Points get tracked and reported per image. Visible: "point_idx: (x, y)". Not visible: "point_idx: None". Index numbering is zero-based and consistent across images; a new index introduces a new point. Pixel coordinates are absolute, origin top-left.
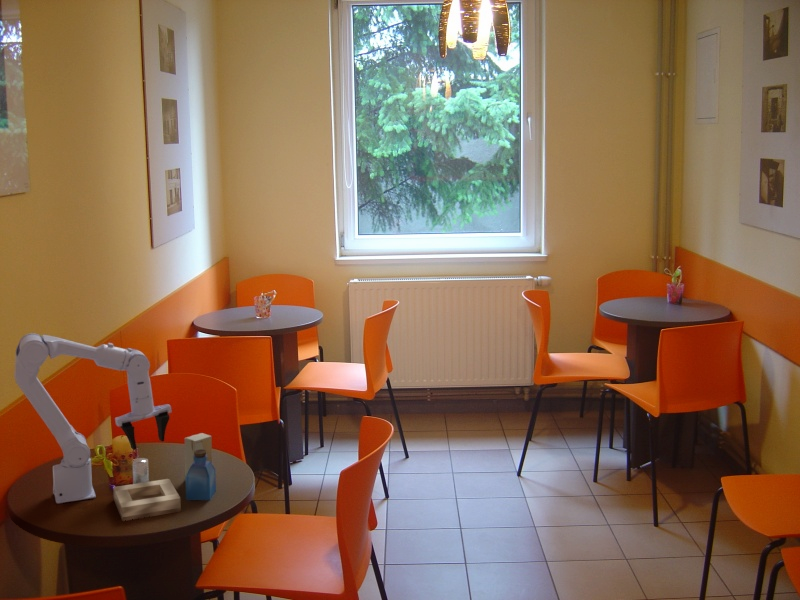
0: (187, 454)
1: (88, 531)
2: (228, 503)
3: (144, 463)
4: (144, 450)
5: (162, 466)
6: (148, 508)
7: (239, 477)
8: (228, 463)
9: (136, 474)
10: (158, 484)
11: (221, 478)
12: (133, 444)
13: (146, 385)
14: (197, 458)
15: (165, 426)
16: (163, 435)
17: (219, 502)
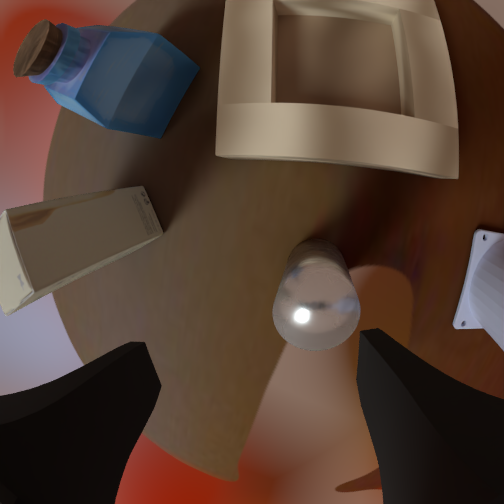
0: (86, 241)
1: (487, 24)
2: None
3: (304, 273)
4: (236, 464)
5: (211, 380)
6: None
7: (53, 193)
8: (66, 298)
9: (343, 265)
10: (275, 104)
11: None
12: (398, 345)
13: None
14: (65, 24)
15: (36, 390)
16: (104, 358)
17: None
